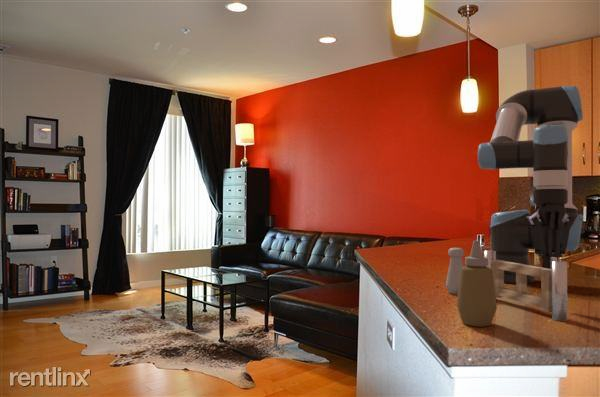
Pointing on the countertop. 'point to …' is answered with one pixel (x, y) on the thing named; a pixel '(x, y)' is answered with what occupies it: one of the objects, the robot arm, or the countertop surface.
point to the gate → (523, 283)
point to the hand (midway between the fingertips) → (550, 283)
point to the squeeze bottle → (476, 290)
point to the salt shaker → (454, 270)
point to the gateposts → (557, 286)
